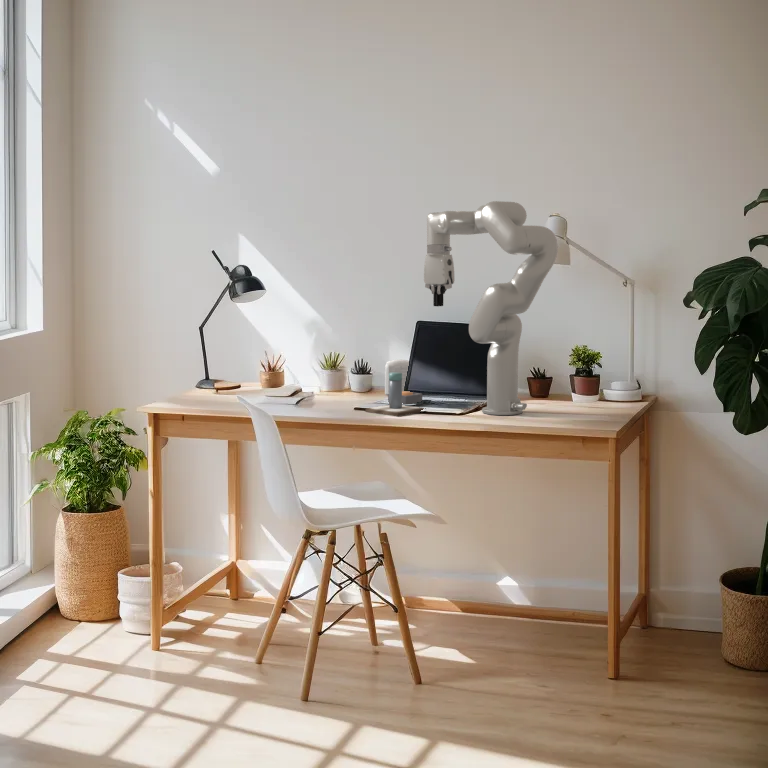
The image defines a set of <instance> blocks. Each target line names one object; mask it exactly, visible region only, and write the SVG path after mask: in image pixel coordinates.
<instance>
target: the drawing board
mask: <svg viewBox="0 0 768 768" xmlns="http://www.w3.org/2000/svg"><path fill="white" fill-rule="evenodd" d="M424 408H425V407H420V408H419V407H418V406H405V405H402V408H400V409H391V408H389V405H388V404H385V405H379V406H374V407H373V406H372V407H367V408H365V412H366V413H370V414H371V413H372V414H379V415H386V416H390V417H402V416H408V415H414V414H420V411H421V410H423V409H424ZM425 409H426V410H427V408H425Z"/></svg>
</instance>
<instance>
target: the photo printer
mask: <svg viewBox="0 0 768 768" xmlns="http://www.w3.org/2000/svg"><path fill="white" fill-rule="evenodd" d="M409 361H410V360H406V359H397V358H396V359H392V360H388V361H386V362H385V365H384V367H385V368H384V394H385V395H386V396H388V394H389V373H392V372H400V373H402V391H404V386H405V381H406V376H407V371H408V366H409Z"/></svg>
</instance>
